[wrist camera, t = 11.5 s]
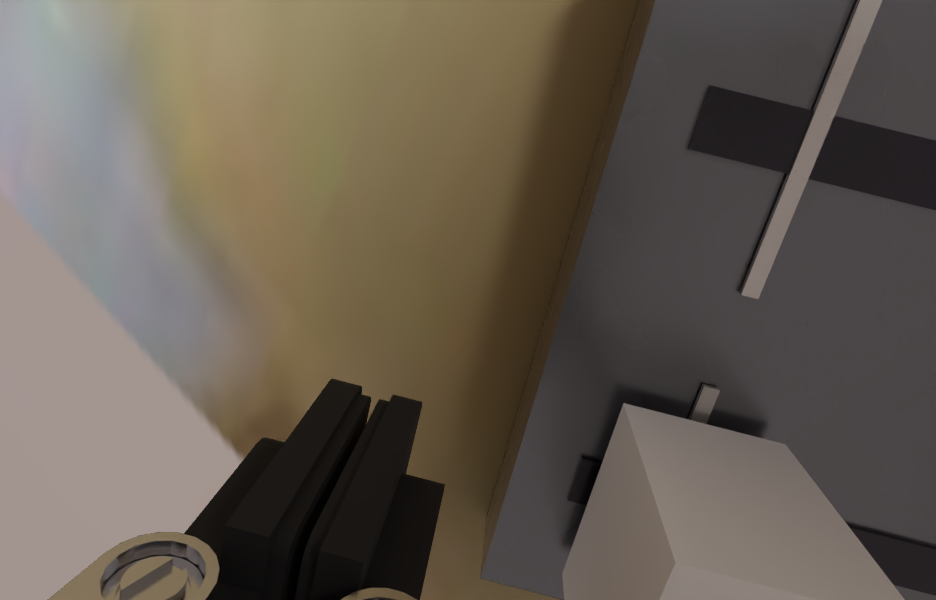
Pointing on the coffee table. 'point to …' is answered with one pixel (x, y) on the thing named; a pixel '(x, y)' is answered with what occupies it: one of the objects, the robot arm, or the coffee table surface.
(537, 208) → the coffee table surface
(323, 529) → the robot arm
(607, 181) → the console
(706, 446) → the fader
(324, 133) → the coffee table surface
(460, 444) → the coffee table surface
